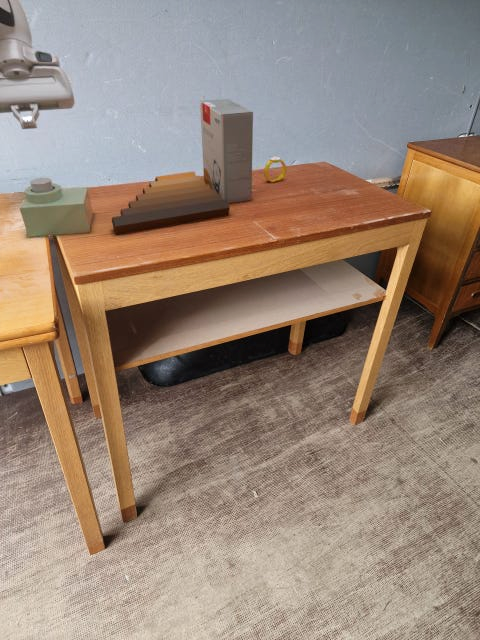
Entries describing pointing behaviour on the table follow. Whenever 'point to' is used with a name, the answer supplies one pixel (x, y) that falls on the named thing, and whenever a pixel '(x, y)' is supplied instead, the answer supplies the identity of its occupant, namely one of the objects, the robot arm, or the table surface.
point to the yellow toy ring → (272, 160)
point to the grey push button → (41, 185)
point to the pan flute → (171, 204)
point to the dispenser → (57, 211)
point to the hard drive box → (227, 148)
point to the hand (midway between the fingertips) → (29, 127)
